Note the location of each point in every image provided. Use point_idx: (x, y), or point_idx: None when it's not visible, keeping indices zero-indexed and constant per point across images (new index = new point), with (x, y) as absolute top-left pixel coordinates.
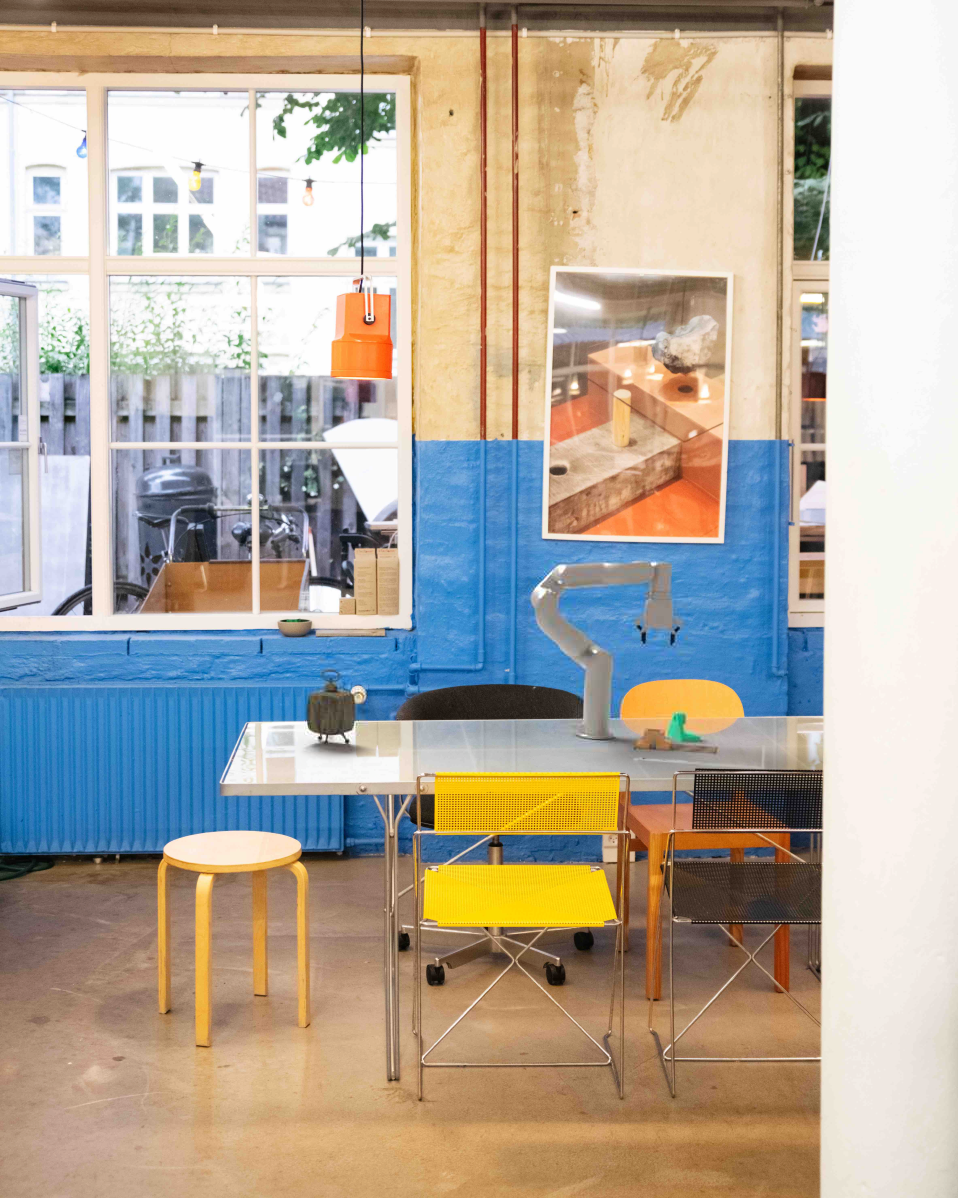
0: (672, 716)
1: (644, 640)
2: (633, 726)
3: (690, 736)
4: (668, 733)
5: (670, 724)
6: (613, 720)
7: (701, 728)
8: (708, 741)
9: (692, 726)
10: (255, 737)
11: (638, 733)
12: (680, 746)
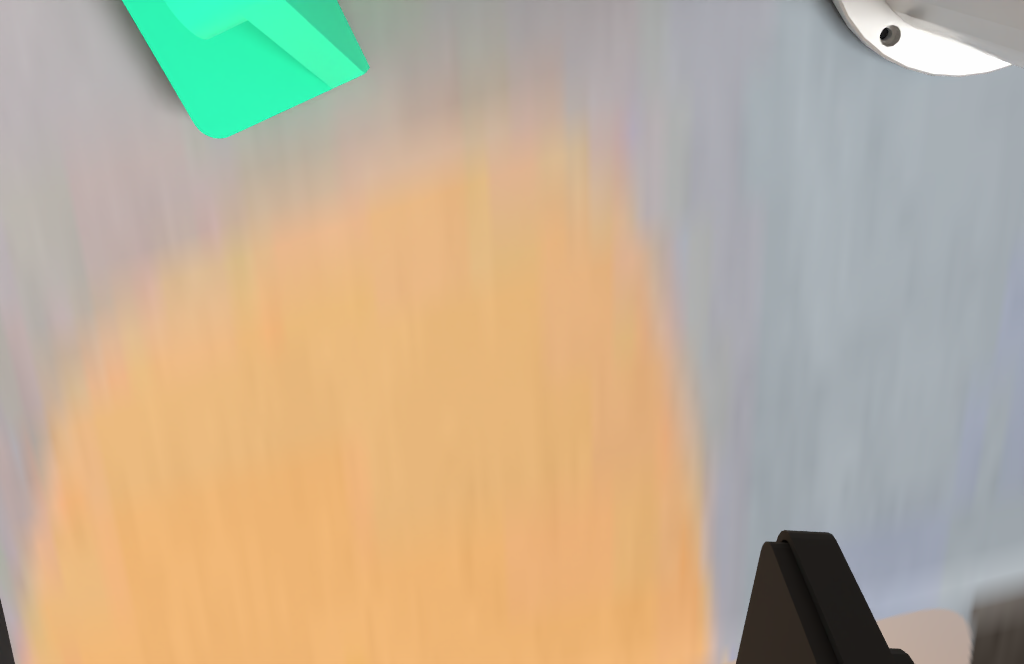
0: (288, 2)
1: (814, 595)
2: (643, 438)
3: None
4: (359, 54)
5: (326, 31)
6: None
7: (180, 500)
8: (35, 4)
9: (247, 548)
10: None
11: (607, 179)
12: None
